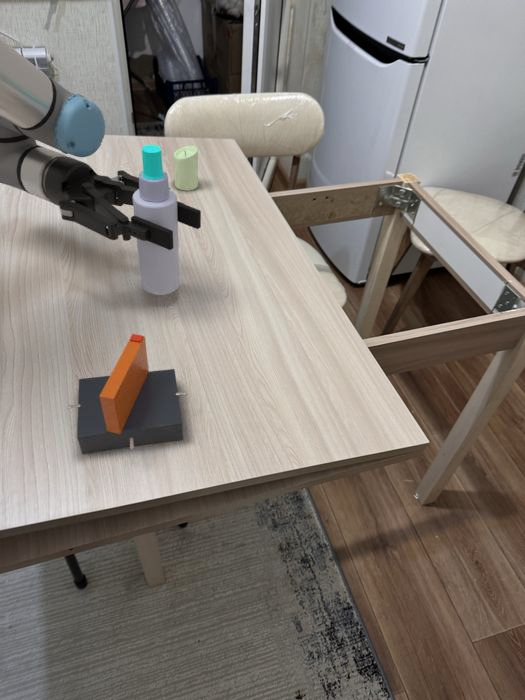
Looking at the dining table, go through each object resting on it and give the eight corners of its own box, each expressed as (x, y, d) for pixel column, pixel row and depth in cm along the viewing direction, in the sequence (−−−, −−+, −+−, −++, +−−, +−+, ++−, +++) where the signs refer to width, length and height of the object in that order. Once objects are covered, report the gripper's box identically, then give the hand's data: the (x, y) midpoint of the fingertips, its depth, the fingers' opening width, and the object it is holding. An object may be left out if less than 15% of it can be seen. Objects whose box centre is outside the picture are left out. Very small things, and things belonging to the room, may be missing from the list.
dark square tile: (71, 474, 56) (65, 457, 53) (75, 382, 65) (70, 363, 63) (194, 456, 59) (194, 439, 56) (181, 371, 69) (180, 353, 66)
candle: (178, 191, 105) (177, 154, 99) (172, 181, 108) (171, 144, 102) (200, 189, 106) (200, 152, 101) (194, 179, 109) (194, 142, 104)
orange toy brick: (120, 434, 56) (113, 397, 51) (107, 431, 56) (98, 394, 51) (148, 372, 63) (144, 334, 58) (136, 369, 63) (132, 332, 58)
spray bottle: (138, 276, 79) (123, 140, 63) (174, 271, 81) (169, 137, 65) (145, 299, 75) (132, 160, 60) (183, 293, 77) (180, 157, 61)
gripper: (107, 181, 83) (221, 224, 77) (18, 228, 71) (145, 285, 65) (100, 137, 78) (222, 180, 72) (3, 179, 66) (140, 236, 59)
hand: (185, 229), depth 68 cm, fingers closed on spray bottle, 6 cm apart
